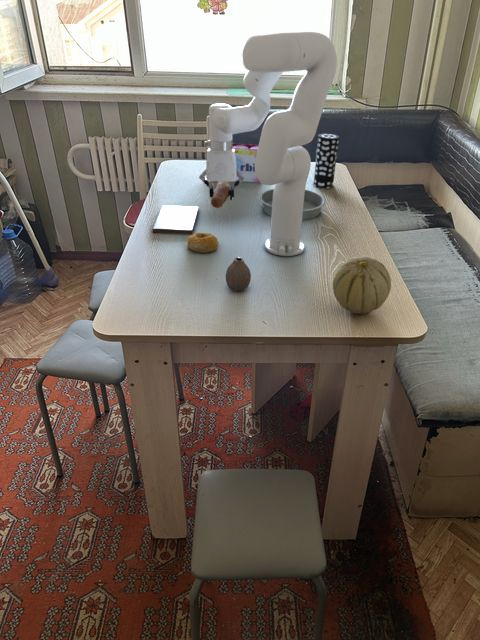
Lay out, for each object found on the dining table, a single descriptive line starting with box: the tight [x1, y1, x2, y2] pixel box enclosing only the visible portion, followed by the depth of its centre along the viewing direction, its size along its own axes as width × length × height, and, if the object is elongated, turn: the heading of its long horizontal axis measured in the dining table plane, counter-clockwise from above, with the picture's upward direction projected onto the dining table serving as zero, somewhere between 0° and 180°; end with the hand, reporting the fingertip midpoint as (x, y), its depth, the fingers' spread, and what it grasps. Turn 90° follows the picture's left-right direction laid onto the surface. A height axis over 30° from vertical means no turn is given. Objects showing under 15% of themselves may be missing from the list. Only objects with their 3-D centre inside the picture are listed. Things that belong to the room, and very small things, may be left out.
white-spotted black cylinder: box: [313, 133, 340, 190], centre depth 218 cm, size 8×8×20 cm
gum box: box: [208, 142, 261, 183], centre depth 223 cm, size 24×8×14 cm, turn 88°
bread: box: [210, 182, 231, 209], centre depth 183 cm, size 6×19×6 cm, turn 170°
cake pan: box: [258, 188, 326, 221], centre depth 197 cm, size 25×25×4 cm
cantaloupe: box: [332, 255, 392, 315], centre depth 136 cm, size 15×15×15 cm
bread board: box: [152, 204, 199, 235], centre depth 184 cm, size 22×13×2 cm, turn 0°
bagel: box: [186, 232, 219, 254], centre depth 166 cm, size 10×11×5 cm
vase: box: [225, 257, 252, 293], centre depth 144 cm, size 7×7×9 cm
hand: (222, 198), depth 184 cm, fingers closed on bread, 5 cm apart
